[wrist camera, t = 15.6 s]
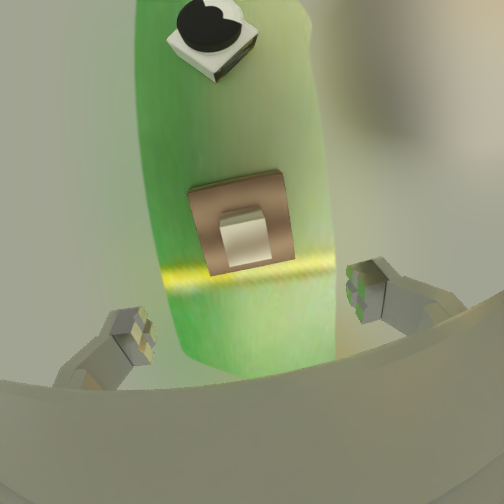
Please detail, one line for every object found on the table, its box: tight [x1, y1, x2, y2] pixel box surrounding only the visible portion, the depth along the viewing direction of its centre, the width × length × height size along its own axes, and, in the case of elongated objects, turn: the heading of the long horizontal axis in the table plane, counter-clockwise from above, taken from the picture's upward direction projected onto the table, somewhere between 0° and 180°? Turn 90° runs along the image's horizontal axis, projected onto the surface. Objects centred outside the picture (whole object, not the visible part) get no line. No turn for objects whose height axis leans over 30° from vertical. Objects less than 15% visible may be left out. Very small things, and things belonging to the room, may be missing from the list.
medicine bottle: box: [167, 0, 259, 83], centre depth 22 cm, size 7×7×12 cm
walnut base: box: [187, 170, 295, 276], centre depth 36 cm, size 12×12×3 cm
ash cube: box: [220, 206, 272, 267], centre depth 33 cm, size 5×5×5 cm
